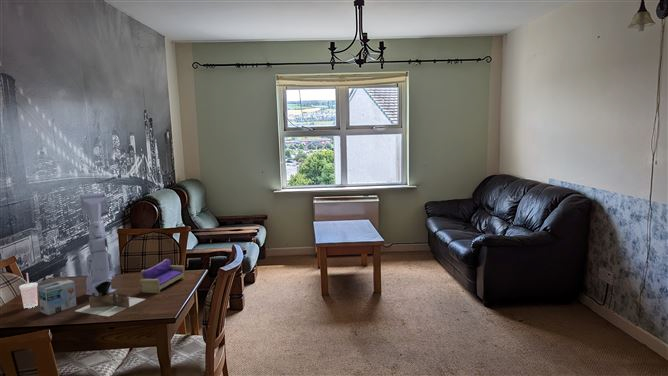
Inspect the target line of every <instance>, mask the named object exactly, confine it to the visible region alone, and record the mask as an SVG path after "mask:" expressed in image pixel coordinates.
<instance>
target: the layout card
mask: <svg viewBox="0 0 668 376" xmlns="http://www.w3.org/2000/svg"><path fill="white" fill-rule="evenodd" d="M128 297H129V307H128V308H130V307H133V306H135V305H137V304H139V303H141V302H143V301H145V300H146V298H139V297H133V296H132V297H131V296H128ZM126 309H127V308H125V307H118V306H117V305H114V306H101V307H90V304H88V305H86V306H83V307H81V308H78V309H76V310H75V312H77V313H83V314H90V315H97V316H103V317H111V316H113V315H116V314H118V313H120V312H122V311H125V310H126Z"/></svg>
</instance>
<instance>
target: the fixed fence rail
mask: <svg viewBox="0 0 668 376" xmlns="http://www.w3.org/2000/svg"><path fill="white" fill-rule="evenodd" d="M116 294H117V297H116V300H117V306H118V307H125V308H126V309H128V308H130V307H129V297H130V296H128V293H124V292H122V293H121V292H118V293H117V292H116Z"/></svg>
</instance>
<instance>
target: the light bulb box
mask: <svg viewBox="0 0 668 376" xmlns="http://www.w3.org/2000/svg"><path fill="white" fill-rule="evenodd" d="M37 290H38V295H39V296H38V297H39V306H40V313H42V314H45V315H46V316H47V315H48V316H50V315H53V314H56V313H58V312H62V311H65V310H68V309H71V308H75V307H77V298H76V284H75V281H74V280H71V279H68V278H64V279H60V280H57V281H52V282H50V283H46V284H41V285H38V286H37Z"/></svg>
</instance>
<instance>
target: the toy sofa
mask: <svg viewBox="0 0 668 376" xmlns="http://www.w3.org/2000/svg"><path fill="white" fill-rule="evenodd" d="M184 270H185V265H179V264H177V265H175V264H174V265H173V264H172V265H171V260H170V259H169V258H165V259H163V261H161V262H159V263H158V264H155V265H154V266H152V267H150V268H148V269H142V270H141V271H140V274H141V278H140V279H139V282H140V283H141V291H142V292H141V293H148V294H149V293H150V294H160V293H161V290H163V289H164V288H166V287H167V286H169V285H170V284H173V283H174V282H176V281H178V280H183V279H184V280H185V271H184Z"/></svg>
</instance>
